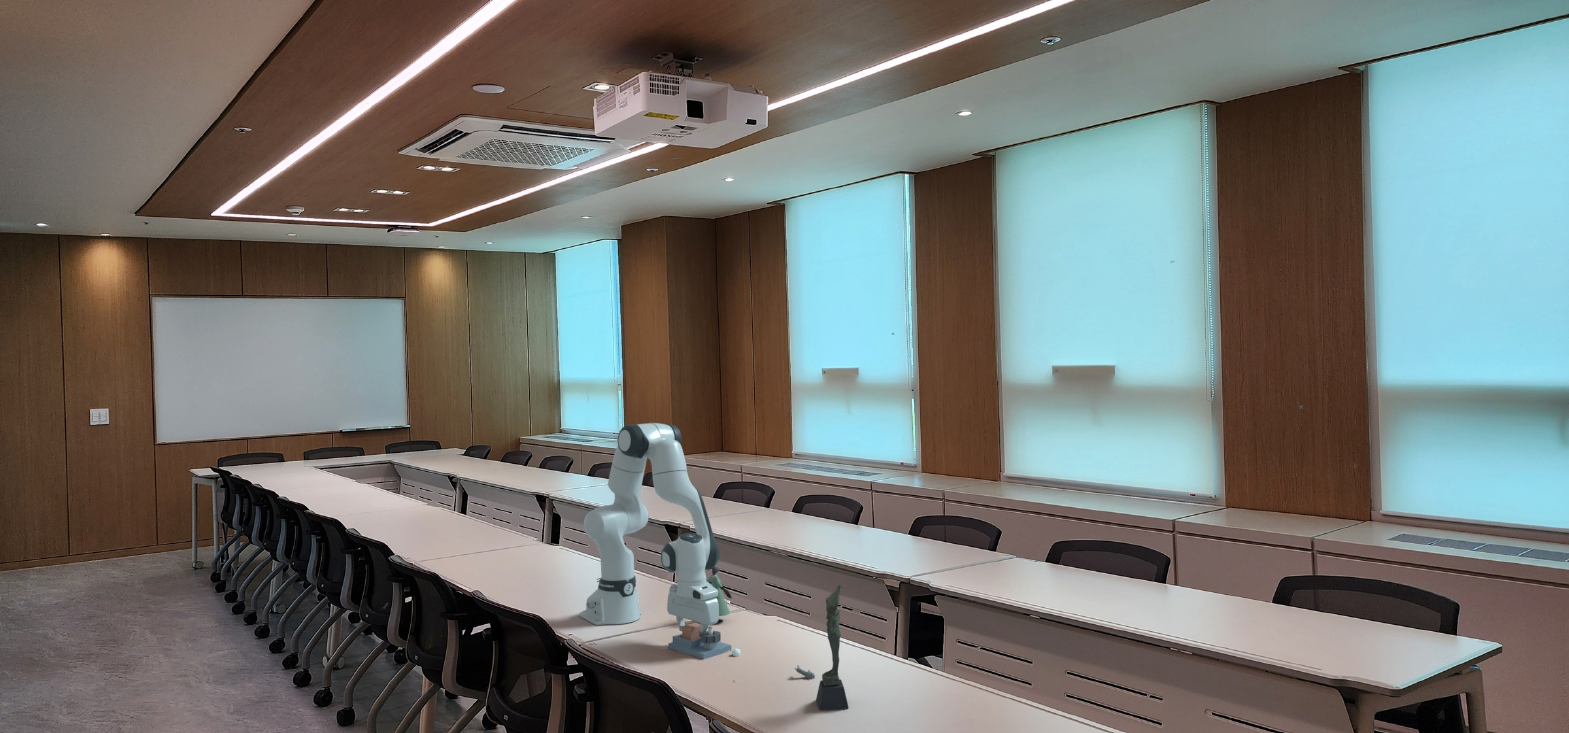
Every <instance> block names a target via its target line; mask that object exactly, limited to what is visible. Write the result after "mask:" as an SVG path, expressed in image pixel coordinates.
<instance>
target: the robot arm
mask: <svg viewBox="0 0 1569 733" xmlns="http://www.w3.org/2000/svg"><path fill="white" fill-rule="evenodd" d="M682 442H683V438H682V433H681V430H680V429H679V427H677V426H676V425H674V424H671V423H659V422H657V423H656V422H649V423H638V424H636V423H632V424H628V425H624V426H622V427H621V429H620V430H619V433H618V436H617V446H616V449H615V452H614V455H613V459H612V464H611V467H610V471H609V476H608V480H607V486H608V488H609V490H610V491H611V492H612V494H613V493H614V494H613V495H614V502H613V503H612V504H607V505H603V506H602V505H601V506H599V507H596V508H594V509H592V510H590V511H589V512H587V513H586V515H585V517H584V520H583V530H584V533H585V534H586V536H588V538H590V539H591V540H592V541H594V543H595V545H596V547H597V550H598V553H599V558H600V573H601V574H600V575H601V576H600V578H596V580H597V581H596V582H597V583H598V585H597V586H598V587H597V589H596V590H595V591H594V592H593V593H591V595H590V596H588V597H587V599H586V604H585V605H586V606H585V610H582V611H580V612H579V613H578V617H580V618H582V619H584V620H585V621H588V622H589V623H590V624H593V625H596V626H601V625H623V624H629V623H631V622H636V621H638V620H639V619H640V618H641V615H642V614H643V612H642V611H643V610H642V609H640V602H639V594H638V590H637V589H636V586H637V579H636V578H637V577H636V575H635V556H634V553H633V551H632V550H631V549H630V548H629V547H627V546H626V545H625V541H624V536H626V535H630V534H634V533H636V532H638V531H640V530H641V529H643V528H646V526H647V524H648V521H649V512H648V509H647V507H646V506H645V504H644V503H643V501H642V496H641V495H642V494H641V493H642V485H643V480H644V474H645V471H646V465H647V460H650V463H651V474H652V483H653V488H654V491H655V493H656V494H657V496H659V497H660V498H661V500H664V501H665V502H668V503H670V504H674V505H677V506H680V507H683V508H684V509H686V510H687V511H689V513H690V515H691V518H692V521H693V526H694V528H695V532H696V533H693V532H687V533H683V534H681V535H679V536H678V538H677V539H676V540H673V541H669V542H667V543H666V544H665V545H664V546H663V548H662V549H661V554H660V556H661V557H660V559H661V560H660V561H661V566H662V567H663V568H664V569H665V570H666V571H667V572H669V573H674V574H676V573H677V578H676V583H673V584H671V585H670V587H669V592H668V596H667V604H666V611H667V613H668V614H669V615H670V616H671V615H672V616H675V618H676V622H677V624H678V631H680V632H682V626H685V625H686V623H685V620H684V619H686V620H688V621H692V622H695V623H698V624H701V626H702V628H701V631H699V637H701V633H702V632H705V631H708V630H709V628H708V627H710V626H713V625H715V624H717V623H719V622H718V620H719V619H720V616H719V604H718V600H717V599H716V598H715V597H717V596H718V590H717V589H716V588H714V587H713V586H712V584H710V583H708V582H706V581H707V574H706V571H712V569H713V567H716V565H717V564H718V563H719V561H720V558H721V551H720V547H719V545H718V542H717V540H716V537H715V535H714V532H713V529H712V525H711V521H710V519H709V516H708V512H707V508H706V504H705V502H704V500H703V495H702V494H701V491H700V490H699V488H697V487H695V486H694V485H693V484H692V482H691V480H690V477H689V474H688V469H687V468H688V466H687V462H686V461H687V460H686V457H685V454H684V450H683V447H682V444H683V443H682ZM640 614H641V615H640Z"/></svg>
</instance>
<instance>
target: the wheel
mask: <svg viewBox="0 0 1569 733" xmlns="http://www.w3.org/2000/svg"><path fill="white" fill-rule="evenodd" d="M721 634H722V633H721V631H718V630H713V635H709V630H707V631H705V632H702V633H701V642H703V643H713V642H714V643H717V642H721V640H722V638H721V637H722V636H721Z"/></svg>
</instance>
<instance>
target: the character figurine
mask: <svg viewBox="0 0 1569 733" xmlns="http://www.w3.org/2000/svg"><path fill="white" fill-rule="evenodd" d="M711 573H712V574H711V575H710V576H709V577H708V579H706V582H708V583H709V584H710V583H711V584H710V585H712V586H713V587H714V588H716V589H717V590H718V596H717V597H715V598H716V599H717V600H718V604H719V617H725V616H728V615H730V613H731V612H730V609H729V606H728V605H727V602H726V599H725V596H726V597H727V598H728V599H733V597H732V595H731V593H730V591H729V590H728V589H726V588H725V587H724V586H723V584H722V580H721V579H720V577H719V576H718V574H719V573H721V572H720V569H719V567H718V566H714V567H713V568H712V569H711ZM722 590H723V591H722ZM723 593H724V594H725V596H724V594H723ZM723 621H724V620H723V619H721V618H719V620H718V622H717V623H721V622H723Z"/></svg>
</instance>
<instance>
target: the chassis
mask: <svg viewBox="0 0 1569 733" xmlns="http://www.w3.org/2000/svg"><path fill="white" fill-rule="evenodd" d="M713 628H714V627H713V626H708V631H709V635H713V631H714V630H713ZM668 649H671V650H673V651H675V652H676V651H677V652H680V653H683V654H685V655H689V656H692V657H696V658H698V659H702V660H705V659H708V658H712V657H715V656H717V654H718V655H721V654H724V653H727V652H729V651H728V650H730V651H732V644H729V643H725V642H722V641H720V642H717V643H714V642H713V643H703V642H701V638H698V639H694V640H688V639H685V638H682V633H679V634H675V635H672V642H669V643H668ZM726 651H727V652H726ZM723 652H724V653H723Z"/></svg>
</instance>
